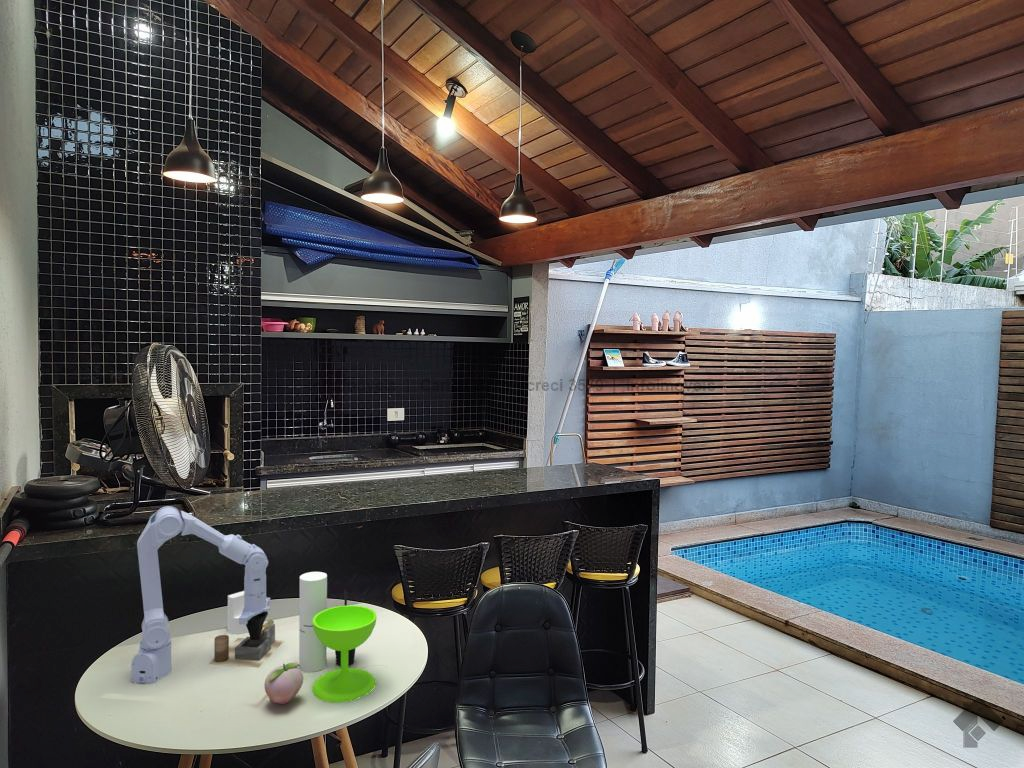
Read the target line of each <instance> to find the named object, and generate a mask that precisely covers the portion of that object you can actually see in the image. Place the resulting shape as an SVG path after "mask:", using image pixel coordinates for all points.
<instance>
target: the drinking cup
mask: <svg viewBox="0 0 1024 768" xmlns="http://www.w3.org/2000/svg"><path fill="white" fill-rule="evenodd" d="M343 598H344V605H343V606H347V605H348V591H347V590H345V591H344V597H343ZM334 653H335V662H336V663H335V664H336V665H337V666H338V667H341V651H336V650H334ZM355 655H356V648H355V649H352V650H348V667H349V666H351V665H353V664H354V663H355Z"/></svg>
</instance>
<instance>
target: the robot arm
mask: <svg viewBox="0 0 1024 768" xmlns="http://www.w3.org/2000/svg"><path fill="white" fill-rule="evenodd" d="M179 534H180V536H186V535H195V536H196V537H198V538H200V539H202V540H204V541H207V542H209V543H211V544H213V546H214V545H215V546H216V547H218V552H219V554H221V555H222V556H224V557H226V558H228V559H230V560H232V561H234V562H236V563H237V564H240V565H244V566H245V567H244V577H243V579H244V580H243V581H244V582H243V584H244V585H243V587H244V589H243V591H244V608H243V611H242V614H241V616H240V617H239V624H242V625H246V626H247V629H248V632H249V633H248V635H249V637H250V639H251V640H259V639H260V635H261V631H262V627H263V625H264V624H265V621H266V618H267V617H268V614H269V611H270V610H271V606H270V605H271V597H267V574H266V571H267V567H268V566H269V560H268V556H267V555H266V553H265V552H264V550H263V549H262V548H261V547H260V546H257V545H256V544H254V543H252V544H251V543H250V542H249V543H248V542H247V541H245V540H244V539H243V537H242V536H241V535H240V534H236V535H235V534H232V533H230V534H228V535H227V534H226V535H225V534H223V533H221V532H220V531H218V530H216V529H215V528H213V527H212V526H211V525H209V524H207V523H205V522H204V521H202V520H201V519H198V518H197V517H195V516H193V515H191V514H190V513H188V512H185V511H184V510H179V508H176V507H174V506H171V505H167V506H163V507H160V508H159V509H158V510H157V511H156V512H154V513H153V514H152V515H151V516H149V519H148V521H147V524H146V526H145V528H144V529H143V531H142V532H141V534H140V536H139V538H138V539H137V543H136V545H137V546H136V548H137V556H138V569H139V576H140V585H141V587H140V588H141V596H142V604H143V605H142V607H143V614H144V616H143V620H142V622H141V629H142V632H141V633H142V636H141V637H142V638H141V641H140V642H139V649H138V651H137V653H136V654H135V655H134V657H133V658H132V660H131V667H130V668H131V683H136V684H139V683H140V684H149V685H150V684H153V685H154V684H155V683H157V682H158V681H159V680H160V679H162V678H163V677H165V676H167V675H169V674H170V673H171V671H172V637H171V631H170V629H169V628H170V626H169V618H168V616H167V615H166V614H165V612H164V603H163V593H162V584H161V573H160V564H159V553H158V550H159V548H161V547H162V546H163V544H164V543H166V542H167V541H169V540H171V539H172V538H174V537H177V535H179Z"/></svg>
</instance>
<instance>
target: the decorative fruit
mask: <svg viewBox="0 0 1024 768" xmlns="http://www.w3.org/2000/svg"><path fill="white" fill-rule="evenodd" d="M299 666H300V664H299V663H298V662H289V663H286V664H285V663H283V664H282V665H279V666H276V667H274V668H273V669H272V670H271V671H270V672H269V673H268V674H267V676H266V678H265V680H264V685H263V686H264V691H265V693H266V695H267V697H268V699H269V700H270V701H272V702H273V703H275V704H281V705H283V704H287V703H288V702H290V701H291V700H292V699H294V698H295V697H296V696H297V695H298V693H299V692H300V690H301V688H302V686H303V684H304V679H305V677H304V674H303V671H301V670H300V669H299Z"/></svg>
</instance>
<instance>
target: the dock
mask: <svg viewBox="0 0 1024 768" xmlns="http://www.w3.org/2000/svg"><path fill="white" fill-rule="evenodd" d="M284 642H285V640H276V624H275V623H274V624H271V625H270V626H269V627H268V628H267V629H266V630H265V631H264V634H263V635H262V636H261V637H260V639H259V640H251V639H250V636H246V637H245V638H244V637H238V638H236V639H235V640H234V641H233V642H232V643H231V644H229V659H228V660H227V661H224V662H215V661H214V659H213V660H211V661H210V662H209V663H208V665H215V666H216V665H217V666H218V665H219V666H231V667H232V666H233V667H243V668H244V667H247V668H261V666H262V665H263V664H264V663H265V662H266V660H268V658H270V657H271V656H272V655H273V653H274V652H275V651H276V650H277V649H278V648H279V647H281V645H282V644H283V643H284Z"/></svg>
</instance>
